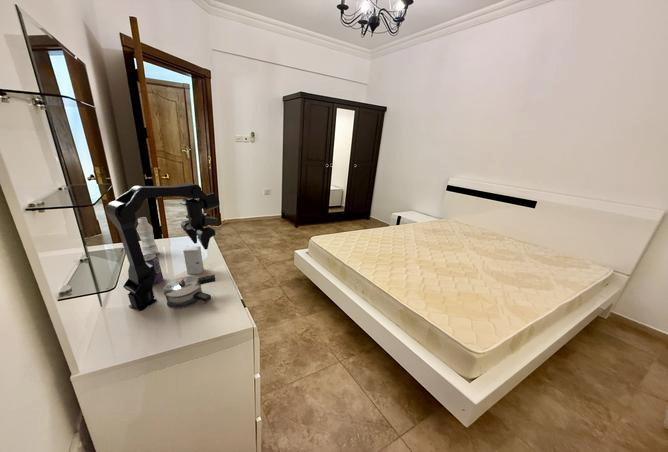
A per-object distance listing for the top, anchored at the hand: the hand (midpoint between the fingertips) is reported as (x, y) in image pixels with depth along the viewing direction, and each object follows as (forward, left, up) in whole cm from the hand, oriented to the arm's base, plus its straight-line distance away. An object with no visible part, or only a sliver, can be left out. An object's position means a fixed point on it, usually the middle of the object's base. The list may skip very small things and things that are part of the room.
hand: (200, 246), depth 113 cm
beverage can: (-14, +15, -14) cm, 24 cm away
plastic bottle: (+3, +38, -14) cm, 41 cm away
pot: (-18, -10, -13) cm, 25 cm away
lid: (-16, -9, -8) cm, 20 cm away
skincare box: (-1, +5, -14) cm, 15 cm away
